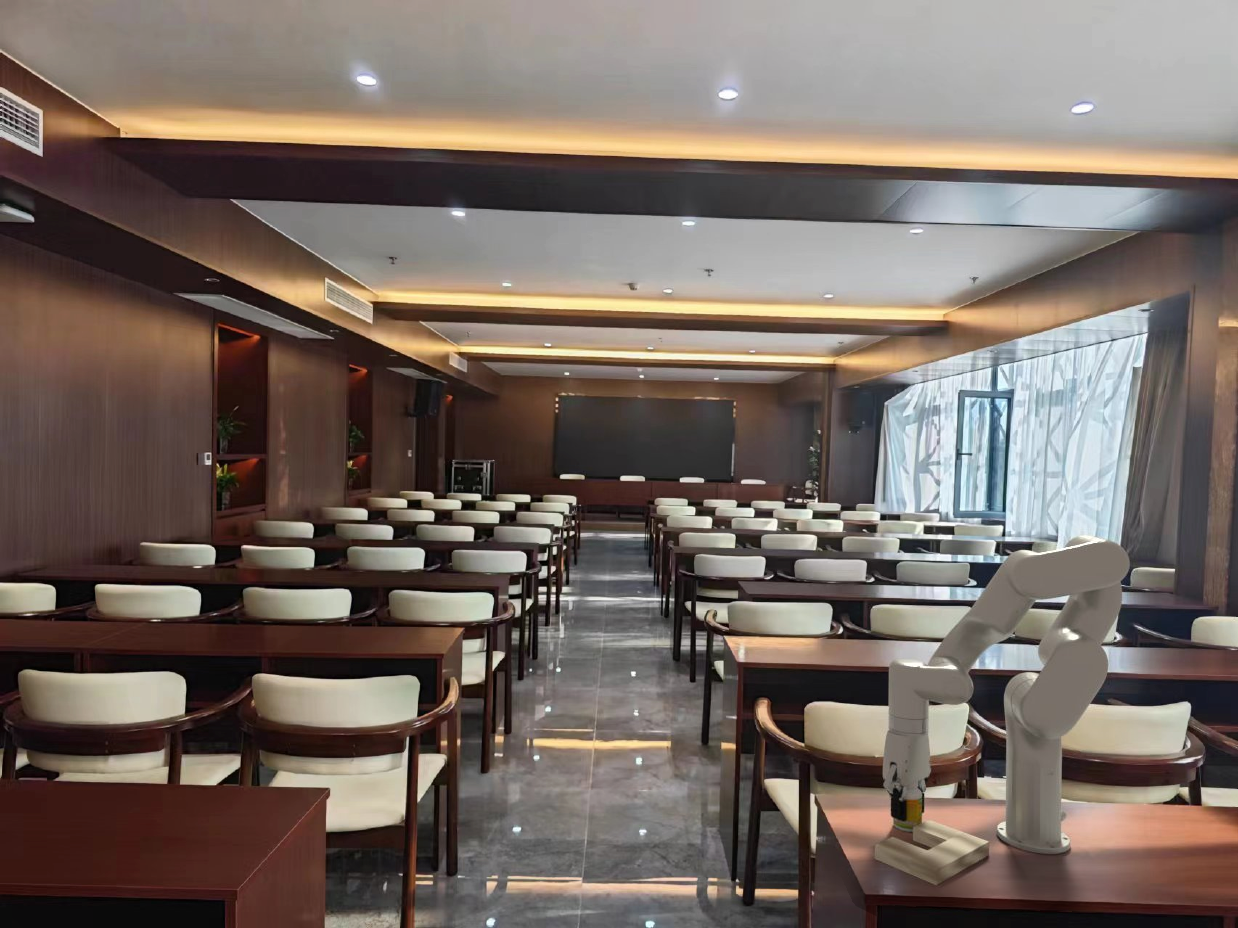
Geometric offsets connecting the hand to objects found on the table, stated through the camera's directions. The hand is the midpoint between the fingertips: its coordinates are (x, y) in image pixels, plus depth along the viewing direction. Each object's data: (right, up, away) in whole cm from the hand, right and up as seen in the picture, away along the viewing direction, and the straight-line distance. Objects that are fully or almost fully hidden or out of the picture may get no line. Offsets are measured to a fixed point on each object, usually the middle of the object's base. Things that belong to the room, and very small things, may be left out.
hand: (907, 814), depth 164 cm
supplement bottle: (0, -3, 0) cm, 3 cm away
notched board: (0, -2, -13) cm, 13 cm away
